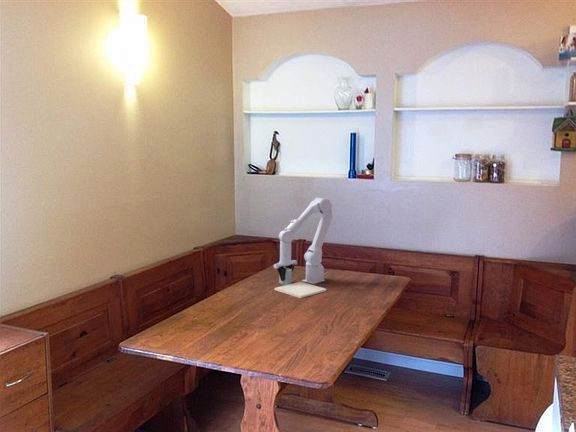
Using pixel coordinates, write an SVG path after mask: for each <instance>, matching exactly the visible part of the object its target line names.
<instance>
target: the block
mask: <svg viewBox="0 0 576 432" xmlns="http://www.w3.org/2000/svg"><path fill="white" fill-rule="evenodd" d="M284 268H285V267H284ZM292 272H293V271H292V269H289V268H286V272H285V280H284V281H281V279H280V275H279V274H278V278H279V279H278V284H281V285H283V286H285V285H289V284H292V278H293V277H292Z"/></svg>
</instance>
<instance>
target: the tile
mask: <svg viewBox="0 0 576 432" xmlns="http://www.w3.org/2000/svg"><path fill="white" fill-rule="evenodd" d="M274 291H277V292H280V293H283V294H287V295H289V296H292V297H295V298H299V299H303V298H306V297H310V296H313V295H314V296H315V295H317V294H319V293H323V292H327V288H325V287H321V286H317V285H315V284H311V283H308V282H304V281H297V282H294V283H291V284H289V285H282V286H278V287H274Z"/></svg>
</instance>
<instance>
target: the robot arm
mask: <svg viewBox="0 0 576 432" xmlns="http://www.w3.org/2000/svg"><path fill="white" fill-rule="evenodd" d="M332 207H333V204H332V203H331V202H330V200H329V199H328V198H323V197H320V196H317V197H314V199H313V200H312V201H311V202H310V203H309V205H308V206H307V207H306V208H305V210H304V211H303V212H302V213H301V214H300V216H298V218H295V219H291V220H290V223H289V224H288V225H287V226H286V227H284V228H283V229H284V230H281V231H280V232H279V234H278V236H277V237H278V240H279V261H278V262H276V263H274V264H273V269H276V271H277V272H278V276H279V275H280V279H281V281H284V280H285V272H286V268H289V269H292V272H293V271H294V269H295V265H298V261H297V260H295V259H292V241H293V240H294V236H296V235H297V233H298V232H299V231H300V230H301V229H302V228H303V224H304V223H305V222H306V221H307V220H308V219H309V218H310V217H311V216H312V215H313V214H314V213H319V215H320V221H319V222H318V225H317V228H316V231H315V234H314V237H313V240H312V242H311V245H309V247H308V248H307V251H305V253H304V254H303V258H304V261H305V279H302V280H301V282H304V283H307V284H311V285H315V284H318V283H322V282H325V281H326V279H325V277H324V275H325V267H324V265H323V264H322V260H323V257H322V256H323V249H322V247H323V244H324V242H325V239H326V236H327V233H328V230H329V227H330V224H331V221H332V219H333V211H332V210H333V209H332ZM284 267H285V268H284Z"/></svg>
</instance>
